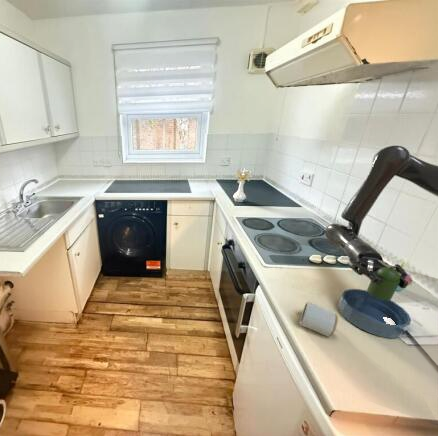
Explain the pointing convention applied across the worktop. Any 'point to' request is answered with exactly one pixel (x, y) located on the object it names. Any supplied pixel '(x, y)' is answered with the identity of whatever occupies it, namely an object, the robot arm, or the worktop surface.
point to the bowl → (373, 313)
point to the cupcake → (405, 279)
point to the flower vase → (241, 184)
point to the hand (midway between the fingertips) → (391, 283)
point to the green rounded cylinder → (385, 284)
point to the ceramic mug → (319, 319)
